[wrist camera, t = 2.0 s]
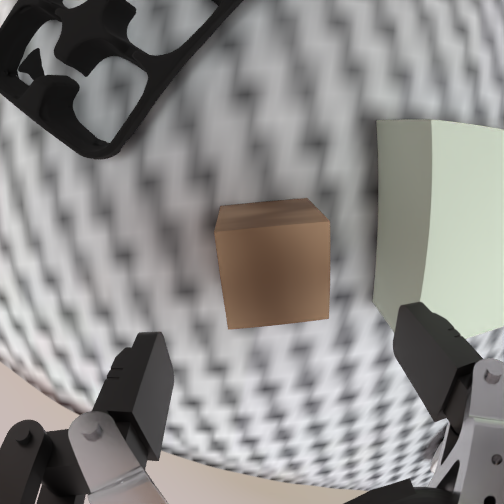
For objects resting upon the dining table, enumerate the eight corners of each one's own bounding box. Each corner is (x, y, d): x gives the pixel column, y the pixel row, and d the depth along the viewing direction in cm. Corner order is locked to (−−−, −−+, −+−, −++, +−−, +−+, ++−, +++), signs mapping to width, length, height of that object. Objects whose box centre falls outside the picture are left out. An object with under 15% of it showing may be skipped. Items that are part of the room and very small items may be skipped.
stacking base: (507, 133, 16) (564, 144, 11) (492, 278, 21) (536, 313, 15) (376, 120, 16) (431, 119, 11) (372, 301, 21) (408, 354, 15)
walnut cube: (306, 197, 18) (329, 221, 14) (309, 275, 20) (328, 318, 15) (220, 205, 18) (214, 231, 14) (230, 283, 20) (228, 329, 15)
